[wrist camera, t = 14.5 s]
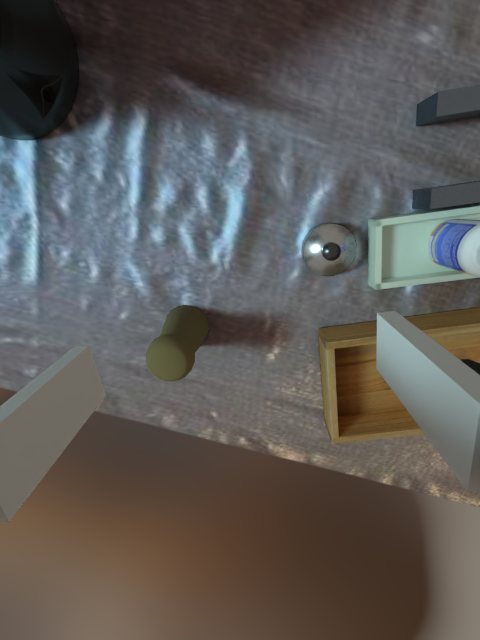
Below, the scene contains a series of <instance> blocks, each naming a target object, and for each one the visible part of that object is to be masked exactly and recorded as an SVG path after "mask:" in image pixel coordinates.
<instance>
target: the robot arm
mask: <svg viewBox="0 0 480 640" xmlns="http://www.w3.org/2000/svg"><path fill="white" fill-rule="evenodd" d="M78 75H79V69H78V57H77V51H76V47H75V43H74V39H73V36H72V33H71V30H70V28H69V25H68V23H67V21H66V19H65V17H64V15H63V13H62V12H61V10H60V8H59V7H58V5H57V4H56V2H55V1H54V0H0V136H3V137H6V138H11V139H17V140H30V139H35V138H39V137H42V136H44V135H46V134H48V133H50V132H52V131H53V130H54V129H56V128H57V127H58V126H59V125H60V124H61V123H62V122H63V120H64V119H65V118H66V116H67V115H68V113H69V111H70V109H71V107H72V105H73V102H74V100H75V96H76V92H77V86H78ZM376 369H377V370H378V372H379V373H380V374H381V376H382V377H383V379H384V380H385V381H386V383H387V384H388V385H389V387H390V388H391V389H392V391H393V392H394V393H395V395H396V396H397V397H398V399H399V400H400V401H401V403H402V404H403V405H404V407H405V408H406V409H407V411H408V412H409V413H410V415H411V416H412V417H413V419H414V420H415V422H416V423H417V424H418V426H419V427H420V428H421V430H422V431H423V432H424V434H425V435H426V436H427V438H428V439H429V440H430V442H431V443H432V444H433V446H434V447H435V448H436V450H437V451H438V452H439V454H440V455H441V456H442V458H443V459H444V460H445V462H446V463H447V465H448V466H449V467H450V469H451V470H452V471H453V473H454V474H455V475H456V477H457V478H458V479H459V481H460V482H461V483H462V485H463V486H464V487H465V489H466V490H467V491H468V492H470V491H480V363H478V362H475V361H473V360H470V359H461V360H459V359H458V358H457V357H455V356H454V355H453V354H451V353H450V352H449V351H447V350H446V349H445V348H443V347H442V346H441V345H439V344H438V343H437V342H436V341H434V340H433V339H432V338H430V337H429V336H428V335H426V334H425V333H424V332H422V331H421V330H420V329H418V328H417V327H416V326H414V325H413V324H412V323H410V322H409V321H408V320H407V319H405V318H404V317H403V316H401V315H400V314H399V313H397V312H396V311H390V312H381V313H377V354H376ZM105 396H106V395H105V392H104V389H103V386H102V383H101V380H100V377H99V373H98V370H97V367H96V364H95V361H94V358H93V355H92V352H91V349H90V346H89V345H88V346H80V347H73V348H72V349H71V350H70V351H68V352H67V353H66V354H65V355H63V356H62V357H61V358H60V359H58V360H57V361H56V362H55V363H53V364H52V365H51V366H50V367H48V368H47V369H46V370H45V371H44V372H42V373H41V374H40V375H39V376H37V377H36V378H35V379H34V380H32V381H31V382H30V383H29V384H27V385H26V386H25V387H24V388H22V389H21V390H20V391H19V392H17V393H16V394H15V395H14V396H12V398H10V399H9V400H8V401H6V402H5V403H4V404H3V405H1V406H0V522H9V521H10V520H11V519H12V517H13V516H14V515H15V513H16V512H17V511H18V510H19V508H20V507H21V506H22V504H23V503H24V502H25V500H26V499H27V498H28V496H29V495H30V494H31V493H32V491H33V490H34V488H35V487H36V486H37V485H38V483H39V482H40V481H41V479H42V478H43V477H44V475H45V474H46V473H47V472H48V470H49V469H50V468H51V466H52V465H53V464H54V462H55V461H56V460H57V459H58V457H59V456H60V455H61V453H62V452H63V451H64V449H65V448H66V447H67V445H68V444H69V443H70V442H71V440H72V439H73V438H74V436H75V435H76V434H77V432H78V431H79V430H80V428H81V427H82V426H83V425H84V423H85V422H86V421H87V419H88V418H89V417H90V415H91V414H92V413H93V411H94V410H95V409H96V408H97V406H98V405H99V404H100V402H101V401H102V400H103V398H104V397H105Z"/></svg>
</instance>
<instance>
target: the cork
mask: <svg viewBox="0 0 480 640" xmlns="http://www.w3.org/2000/svg"><path fill="white" fill-rule="evenodd" d="M208 333H209V322H208V319H207V317H206V316H205V314H204V313H203V312H202V311H201V310H199V309H198V308H196V307H193V306H188V305H183V306H178V307H176V308H174V309H173V310H171V312H170V313H169V314H168V316H167V318H166V321H165V324H164V327H163V330H162V333H161V335H160V337H158V338H156V339H155V340H154V341H153V342H152V343H151V344H150V346H149V347H148V350H147V353H146V363H147V366H148V368H149V370H150V371H151V372H152V374H153V375H154V376H156V377H157V378H159V379H161V380H164V381H176V380H180V379H182V378H184V377H185V376H186V375H187V374H188V373H189V372H190V371H191V370H192V367H193V365H194V362H195V352H196V351H197V349H198V348H199V347H200V345H201V344H202V343H203V341H204V340H205V339H206V337H207V335H208Z"/></svg>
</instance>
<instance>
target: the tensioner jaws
mask: <svg viewBox="0 0 480 640" xmlns="http://www.w3.org/2000/svg"><path fill="white" fill-rule="evenodd" d="M477 116H480V85H477V86H471V87H465V88H459V89H453V90H447V91H441V92H437V93H436V94H434V95H432V96H431V97H429V98H427V99H426V100H424V101H422V102H421V103H419V104H417V118H416V126H421V125H427V124H433V123H440V122H446V121H452V120H459V119H465V118H471V117H477ZM479 202H480V181H474V182H467V183H460V184H453V185H446V186H439V187H432V188H425V189H418V190H413V202H412V209H435V208H443V207H450V206H457V205H465V204H472V203H479Z"/></svg>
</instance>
